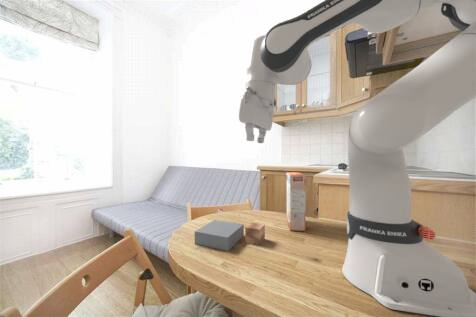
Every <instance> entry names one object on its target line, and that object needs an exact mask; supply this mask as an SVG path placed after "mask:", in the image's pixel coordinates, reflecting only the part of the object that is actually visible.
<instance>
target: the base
mask: <svg viewBox="0 0 476 317" xmlns="http://www.w3.org/2000/svg"><path fill="white" fill-rule="evenodd" d="M244 230H245V226H244V223H238V222H237V223H235V222H230V221H223V220H217V219H216V220H215V219H213V220H212V221H211V222H209V223H207V224H205V225H204V226H201V227H200V228H198V229H197V230H195V231H194V244H195V245H199V246H202V247H207V248H213V249H217V250H221V251H225V252H226V251H227V252H228V251H229V250H231V249H232V248H233V247H234V246H235V245H236V244H237V243H238V242H239V241H240V240H241V239H242V238H243V237H244V235H245V231H244Z"/></svg>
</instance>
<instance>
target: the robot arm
mask: <svg viewBox="0 0 476 317" xmlns="http://www.w3.org/2000/svg"><path fill="white" fill-rule="evenodd" d="M437 5H441V8H440V12H441V15H442V16H444V17H445V18H447V19H448V20H449V22H450V23H451V24H452V26H453V27H455V28H456V29H458V30H459V31H461V32H459V34H456V36H455V37H453V38H452V39H450V41H448V42H446V44H444V45H443V46H441V47H440V48H439V49H438V50H436V51H435V52H434V53H432V54H431V55H430V56H429V57H428V58H426V59H425V60H423V61H422V62H421V63H419V65H417V66H416V67H415V68H412V69H411V70H410V71H409V72H407V73H406V74H405V75H403V76H402V77H400V78H399V79H397V80H396V81H394V82H393V83H391V84H390V85H389V86H387V87H385V88H384V89H382V90H381V91H380V92H378V93H377V94H376V95H375V96H373V97H372V98H370V99H369V100H367V101H366V102H365V103H363V104H362V105H361V106H360V107H358V109H356V111H355V113H353V116H352V119H351V120H350V123H349V125H348V128H347V154H348V155H347V158H348V159H347V160H348V161H347V162H348V179H349V180H348V181H349V185H348V186H349V191H348V192H349V194H348V196H349V197H348V198H349V206H348V207H349V211H348V212H347V217H346V234H347V237H348V241H347V248H346V255H345V258H344V262H343V265H342V268H341V271H342V274H343V275H344V277H345V278H346V279H347V281H348V282H350V284H352V285H353V286H355V287H356V288H358V289H359V290H361V291H363V292H364V293H366V294H368V295H369V296H372V297H373V298H374V299H375V300H376V301H378V303H380V304H382V306H384V307H386V308H388V309H391V310H395V311H402V312H408V313H415V314H421V315H428V316H435V317H476V292H475V291H473V290H472V289H471V288H470V287H469V285H468V282H467V279H466V276H465V275H464V272H462V270H461V269H460V267H458V265H457V264H456V263H455V262H453V261H452V260H451V259H450V258H449V257H447V256H446V255H445V254H443V253H442V252H441V251H439V249H436V248H435V246H433V245H431V243H429V242H427V241H432V240H434V239H436V236H437V235H436V232H435V231H434V230H432V229H431V228H430V227H428V226H424V225H423V224H421V223H420V222H418V221H416V220H414V219H413V218H412V182H411V179H410V176H409V173H408V170H407V169H408V168H407V166H406V165H407V163H406V160H405V154H404V149H405V148H407V147H409V146H410V145H411V144H413V143H414V142H415V141H417V140H418V139H419V138H421V137H423V136H424V135H425V134H426V133H429V131H431V130H432V129H434V128H435V127H436V126H438V125H439V124H440V123H441V122H443V121H445V119H447V118H448V117H449V116H451V115H452V114H454V113H455V112H456V111H457V110H459V109H460V108H462V107H463V106H465V105H466V104H467V103H469V102H471V101H472V100H474V99H476V0H323V1H322V2H320V3H319V4H316V5H315V6H314V7H312V8H310V9H308V10H306V11H305V12H303V13H301V14H300V15H297V16H295V17H293V18H290V19H287V20H283V21H281V22H278V23H277V24H275V25H273V26H272V27H271V28H270V29H269V30H267V32H266V33H265V35H261V36H259V37H256V38H255V39H254V40H253V41H252V43H251V45H250V47H249V51H248V56H247V66H246V74H247V78H246V82H245V89H244V94H243V95H242V96H241V99H240V103H239V104H240V105H239V112H238V120H239V122H241V123H243V124H245V126H244V129H245V132H246V141H247V142H254V141H255V134H254V129H258V137H257V141H256V142H257V143H258V144H264V143H265V137H266V135H267V131H268V132H269V131H271V129H272V127H273V123H274V121H273V120H274V114H275V109H274V108H276V107H277V101H276V93H275V92H276V85H277V84H279V85H289V86H290V85H291V86H295V85H298V84H301V83H302V82H304V81H305V80H306V79H307V78H308V76H309V75H310V72H311V70H312V59H311V57H310V54H309V51H308V48H309V47H310V46H311V45H312V44H314V43H315V42H317V41H319V40H321V39H323V38H324V37H327V36H328V35H330V34H332V33H334V32H336V31H338V30H340V29H341V28H343V27H345V26H348V25H352V24H353V25H354V24H356V25H359V26H360V27H361V28H362V29H363V30H364V31H366V32H369V33H372V34H382V33H386V32H388V31H391V30H393V29H395V28H397V27H400V26H401V25H403V24H405V23H407V22H408V21H410V20H412V19H413V18H416V17H417V16H418V15H420V14H422V13H424V12H425V11H427V10H429V9H431V8H433V7H434V6H437ZM424 239H425V240H424Z"/></svg>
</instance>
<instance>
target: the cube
mask: <svg viewBox="0 0 476 317" xmlns="http://www.w3.org/2000/svg"><path fill="white" fill-rule="evenodd" d="M265 226H266V225H265V224H264V223H258V222H250V223H248V224H247V225H246V226H244V230H245V231H244V235H245V239H244V240H245V244H246V243H247V244H253V245H258V246H261V244H263V242H264V241H265V239H266V231H265V230H266V228H265Z"/></svg>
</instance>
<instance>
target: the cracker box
mask: <svg viewBox="0 0 476 317" xmlns="http://www.w3.org/2000/svg"><path fill="white" fill-rule="evenodd" d="M285 176H286V221H287V225H288V227H289V228H288V229H289V230H290V231H292V232H293V231H295V232H306V184H307V183H306V182H307V181H306V179H307V177H306V175H305V174H303V173H301V172H297V171H291V172H289V171H288V172H286V175H285Z"/></svg>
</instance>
